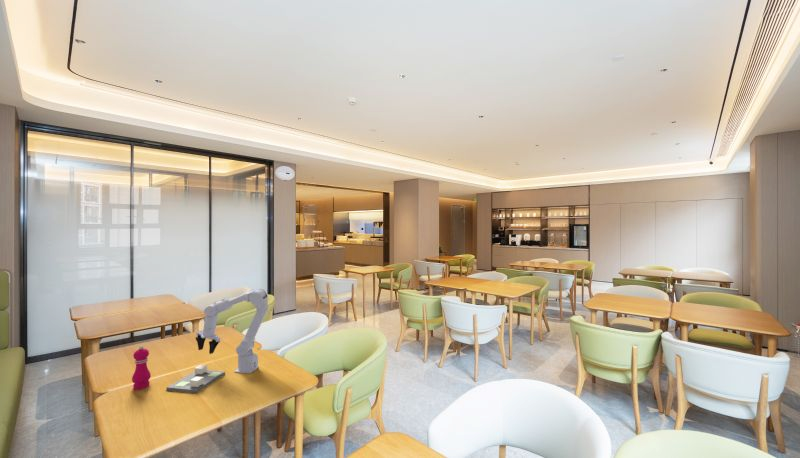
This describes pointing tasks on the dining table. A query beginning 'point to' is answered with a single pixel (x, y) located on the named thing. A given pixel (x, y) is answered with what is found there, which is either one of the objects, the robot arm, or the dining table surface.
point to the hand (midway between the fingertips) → (205, 351)
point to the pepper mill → (141, 369)
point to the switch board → (184, 383)
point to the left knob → (196, 381)
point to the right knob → (201, 369)
